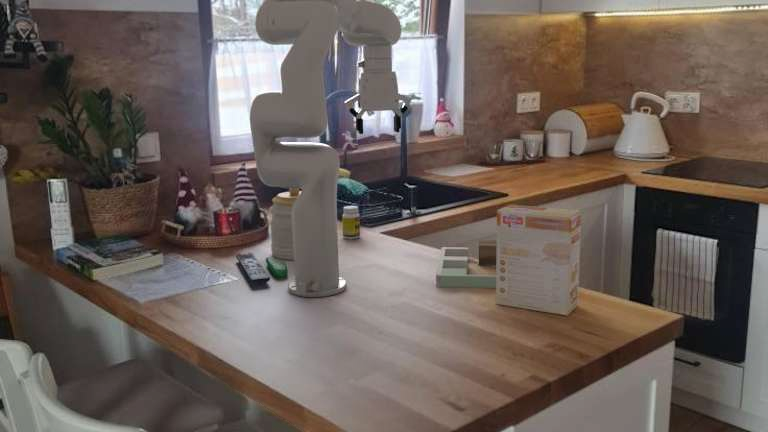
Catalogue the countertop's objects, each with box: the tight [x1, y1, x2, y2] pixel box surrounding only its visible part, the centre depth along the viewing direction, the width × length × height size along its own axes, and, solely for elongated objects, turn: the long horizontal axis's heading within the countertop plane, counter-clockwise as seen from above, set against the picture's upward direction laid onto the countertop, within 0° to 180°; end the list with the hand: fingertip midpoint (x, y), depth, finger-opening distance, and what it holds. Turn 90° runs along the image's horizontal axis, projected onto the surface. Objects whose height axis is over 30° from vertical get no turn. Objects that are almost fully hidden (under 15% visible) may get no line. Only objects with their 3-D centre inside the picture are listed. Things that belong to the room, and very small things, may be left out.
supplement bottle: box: [341, 205, 361, 240], centre depth 206 cm, size 5×5×8 cm
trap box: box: [435, 246, 496, 289], centre depth 174 cm, size 23×18×2 cm
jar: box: [268, 187, 302, 261], centre depth 190 cm, size 13×13×18 cm
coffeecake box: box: [495, 204, 582, 317], centre depth 149 cm, size 15×7×20 cm, turn 59°
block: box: [478, 239, 497, 267], centre depth 180 cm, size 5×5×5 cm
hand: (378, 132), depth 198 cm, fingers open, 9 cm apart
